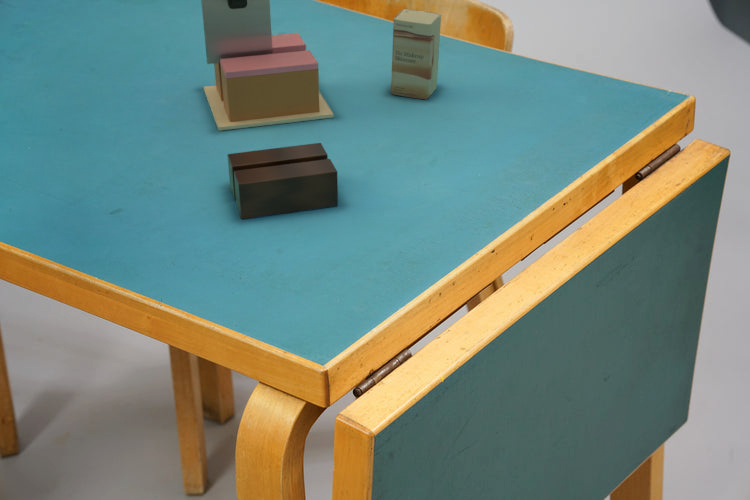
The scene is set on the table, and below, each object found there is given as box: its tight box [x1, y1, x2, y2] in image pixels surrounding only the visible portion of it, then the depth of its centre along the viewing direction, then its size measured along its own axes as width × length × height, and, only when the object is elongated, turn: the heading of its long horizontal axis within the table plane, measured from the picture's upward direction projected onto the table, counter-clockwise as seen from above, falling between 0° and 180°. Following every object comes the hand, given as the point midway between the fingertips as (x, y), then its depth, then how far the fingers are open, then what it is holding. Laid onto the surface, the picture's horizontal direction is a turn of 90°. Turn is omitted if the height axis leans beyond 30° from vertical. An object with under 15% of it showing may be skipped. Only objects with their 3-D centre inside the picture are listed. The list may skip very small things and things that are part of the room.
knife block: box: [227, 142, 339, 220], centre depth 101 cm, size 10×7×4 cm
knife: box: [200, 0, 273, 65], centre depth 116 cm, size 9×2×11 cm, turn 106°
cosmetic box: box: [390, 8, 442, 100], centre depth 124 cm, size 5×4×10 cm
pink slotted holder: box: [203, 32, 335, 132], centre depth 121 cm, size 14×13×7 cm
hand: (235, 3), depth 115 cm, fingers closed on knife, 2 cm apart
